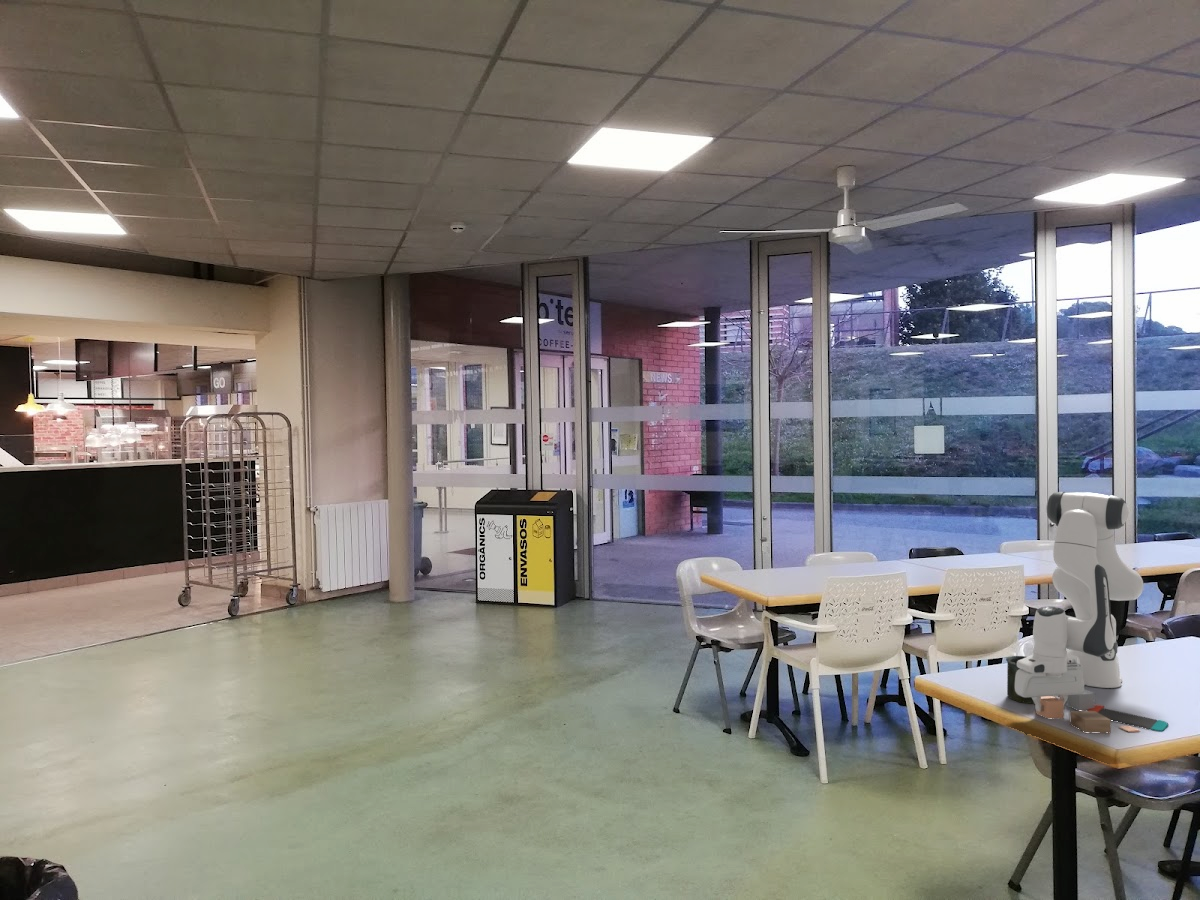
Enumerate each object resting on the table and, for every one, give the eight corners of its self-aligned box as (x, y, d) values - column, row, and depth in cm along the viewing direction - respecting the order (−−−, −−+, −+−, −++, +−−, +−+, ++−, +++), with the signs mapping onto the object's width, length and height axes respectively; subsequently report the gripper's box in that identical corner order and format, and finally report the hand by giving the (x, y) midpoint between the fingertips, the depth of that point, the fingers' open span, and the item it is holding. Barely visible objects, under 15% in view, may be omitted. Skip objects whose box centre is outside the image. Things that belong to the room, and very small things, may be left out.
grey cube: (1067, 705, 244) (1067, 689, 244) (1082, 704, 244) (1082, 688, 244) (1079, 711, 239) (1079, 694, 239) (1094, 710, 239) (1094, 693, 239)
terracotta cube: (1035, 713, 237) (1036, 696, 237) (1051, 712, 238) (1051, 695, 237) (1047, 719, 232) (1047, 702, 232) (1063, 718, 233) (1063, 701, 233)
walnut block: (1070, 724, 228) (1070, 711, 228) (1094, 724, 228) (1094, 710, 228) (1085, 734, 221) (1085, 719, 221) (1110, 734, 221) (1110, 719, 221)
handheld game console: (1162, 734, 222) (1170, 724, 228) (1162, 731, 221) (1170, 720, 228) (1083, 717, 236) (1094, 707, 242) (1083, 713, 236) (1094, 703, 242)
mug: (1049, 698, 250) (1049, 660, 250) (1036, 710, 240) (1036, 670, 240) (1012, 690, 258) (1012, 653, 258) (997, 701, 247) (997, 663, 247)
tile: (1118, 727, 225) (1118, 726, 225) (1129, 727, 225) (1129, 725, 225) (1128, 732, 221) (1128, 730, 221) (1139, 731, 222) (1139, 730, 222)
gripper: (1074, 658, 239) (1073, 704, 239) (1011, 661, 236) (1011, 708, 236) (1089, 664, 233) (1089, 712, 233) (1025, 667, 230) (1025, 715, 230)
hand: (1049, 710), depth 235 cm, fingers closed on terracotta cube, 5 cm apart
